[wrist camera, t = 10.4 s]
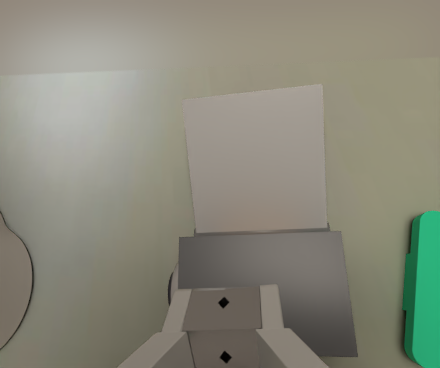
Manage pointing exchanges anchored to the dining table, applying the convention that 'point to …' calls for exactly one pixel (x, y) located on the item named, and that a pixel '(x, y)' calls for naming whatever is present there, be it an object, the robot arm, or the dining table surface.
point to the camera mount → (423, 292)
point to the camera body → (280, 280)
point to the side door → (257, 162)
